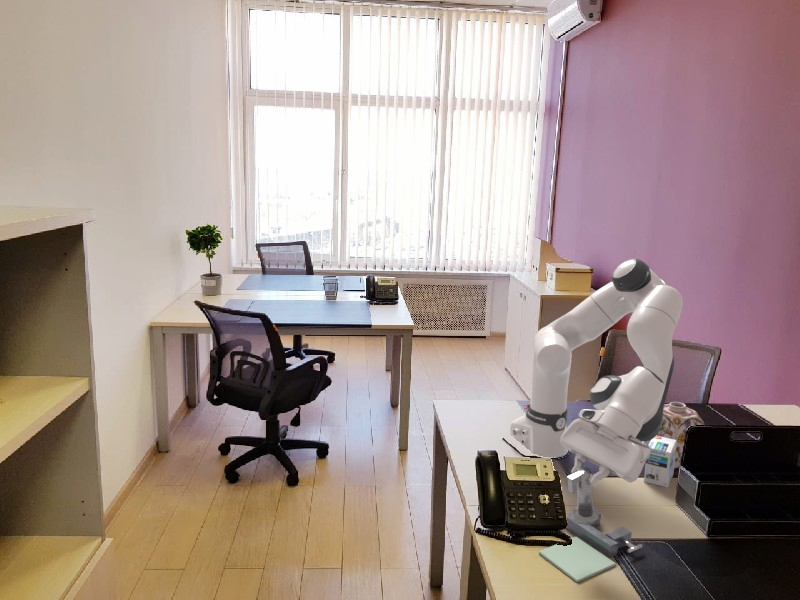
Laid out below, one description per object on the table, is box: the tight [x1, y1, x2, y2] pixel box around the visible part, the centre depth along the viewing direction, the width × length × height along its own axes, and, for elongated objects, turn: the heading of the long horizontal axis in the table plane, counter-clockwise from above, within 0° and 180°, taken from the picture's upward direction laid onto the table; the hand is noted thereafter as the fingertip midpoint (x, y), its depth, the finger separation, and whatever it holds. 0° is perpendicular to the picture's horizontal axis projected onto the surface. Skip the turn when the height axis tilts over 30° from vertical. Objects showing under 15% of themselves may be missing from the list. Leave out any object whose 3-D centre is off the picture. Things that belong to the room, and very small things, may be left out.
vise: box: [566, 511, 644, 558], centre depth 150 cm, size 17×9×3 cm, turn 30°
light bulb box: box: [643, 435, 677, 488], centre depth 179 cm, size 11×7×11 cm, turn 148°
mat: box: [538, 536, 616, 583], centre depth 142 cm, size 12×12×1 cm
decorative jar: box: [645, 401, 705, 470], centre depth 190 cm, size 12×12×18 cm
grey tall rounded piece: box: [567, 466, 599, 525], centre depth 139 cm, size 6×7×12 cm
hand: (582, 479), depth 138 cm, fingers closed on grey tall rounded piece, 3 cm apart
